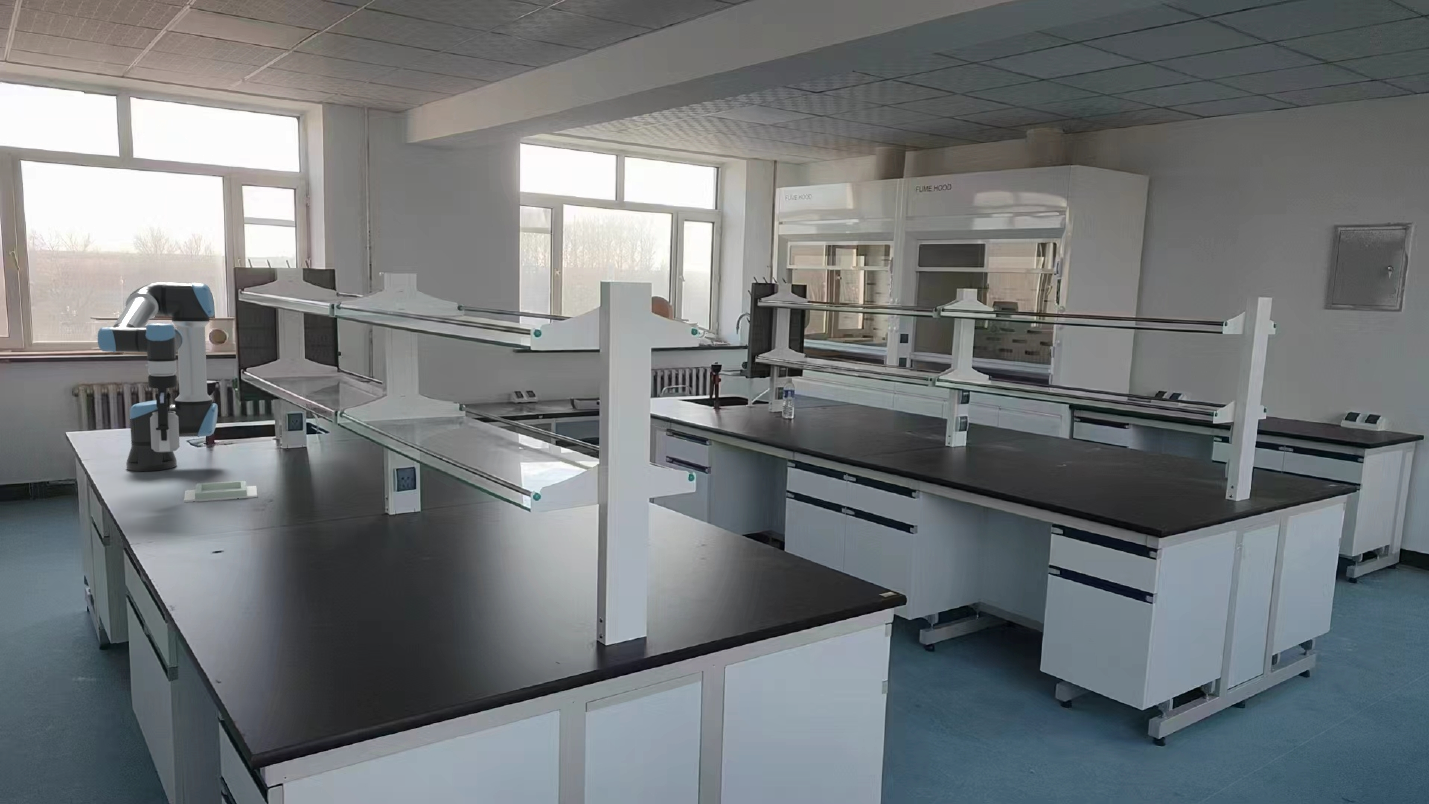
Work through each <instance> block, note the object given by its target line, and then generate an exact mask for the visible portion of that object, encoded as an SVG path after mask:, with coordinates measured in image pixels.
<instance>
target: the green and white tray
mask: <svg viewBox="0 0 1429 804" xmlns="http://www.w3.org/2000/svg"><path fill="white" fill-rule="evenodd" d="M184 493H185V494H184V499H183V503H193V501H195V502H207V501H208V502H209V501H220V500H221V501H222V500H236V499H237V498H239V499H249V498H251V499H252V498H253V499H254V498H258V489H257V485H247V481H246V480H234V481H219V482H202V483H196V485H195V489H186V490H185V492H184Z"/></svg>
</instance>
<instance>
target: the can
mask: <svg viewBox="0 0 1429 804" xmlns="http://www.w3.org/2000/svg"><path fill="white" fill-rule="evenodd" d="M175 413H176V412H174V411H168V427H169V439H170V451H159V430H156V428H158V412H153V413H152V414H153V415H152V416H151V417H150V429H151V449H153V450H154V451H155V452H172V451H173V452H175V451H177V450H178V449H179V448H180V447H181V446H180V437H179V421H178V416H177V415H176V414H175Z"/></svg>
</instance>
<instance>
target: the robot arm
mask: <svg viewBox="0 0 1429 804" xmlns="http://www.w3.org/2000/svg"><path fill="white" fill-rule="evenodd" d="M212 294H213V293H212V290H211V288H210V286H208V285H207V284H206V283H199V282H169V281H168V282H165V281H158V282H156V281H155V282H152V283H148V284H146V285H145V284H144V285H143V286H141V287H139V288H137V289H135V290H134V291H132V293H130V294H129V296H128V297H127V298H126V301H125V308H124V309H123V310H122V312H121V314H120V316H119V317H118V319H117V320H116V322H114V325H112V326H108V327H106V326H105V327H100V329H98V332H97V345H98V348H99V350H100V351H102V352H108V353H109V352H110V353H146V354H147V355H146V360H147V363H145V364H144V365H145V367H146V368H147V372H148V373H147V374H149V375H148V376H147V381H148V383H147V384H148V387H149V388H150V389H157V392H156V393H155V400H147V401H143V402H139V403H135V404H133V405H132V406H130V409H129V425H130V440H131V441H130V442H131V443H130V444H131V447H130V451H129V453H128V457H127V459H126V470H128V471H132V472H154V471H163V470H168V469H173V468H174V467H177V466H178V464H177V460H178V459H177V457H176V455H175V451H172V452H155V451H154V450H153V449H151V429H150V417H151V416H152V415H153V414H152V413H153V412H158V428H156V430H159V451H170V439H169V427H168V411H174V412H176V413H175V414H176V415H177V416H178V421H179V438H187V437H188V438H189V437H190V438H192V437H193V438H194V437H197V438H200V437H210V436H212V435H213V434H214V432H215V430H216V427H217V426H216V425H217V421H218V413H219V408H218V404H217V403H215V402H213V397H212V396H210V395H209V394H208V381H207V380H208V379H207V377H208V376H207V356H206V355H207V352H206V349H207V348H206V326H207V325H208V324H209V323H210V322H211V321H210V318H212V317H214V316H215V302H214V298H213V297H214V296H213V295H212ZM157 316H158V317H161V316H162V317H163V316H164V317H171V323H167V322H166V323H163V322H162V323H148V322H149V321H150V319H153V318H154V317H157ZM147 323H148V324H147ZM172 323H173V324H172ZM174 325H175V326H176V328H175V326H174ZM176 351H177V358H176ZM177 359H178V360H177ZM177 362H178V365H177ZM177 366H178V368H177ZM177 369H178V370H177ZM177 371H178V376H177V375H176V373H177ZM177 377H178V380H177ZM177 386H178V389H179V391H178V393H179V394H178V396H177V397H176V398H175V399H174V403H171V401H172V400H171V399H172V392H170V390H169V389H173V388H176V387H177Z"/></svg>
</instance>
